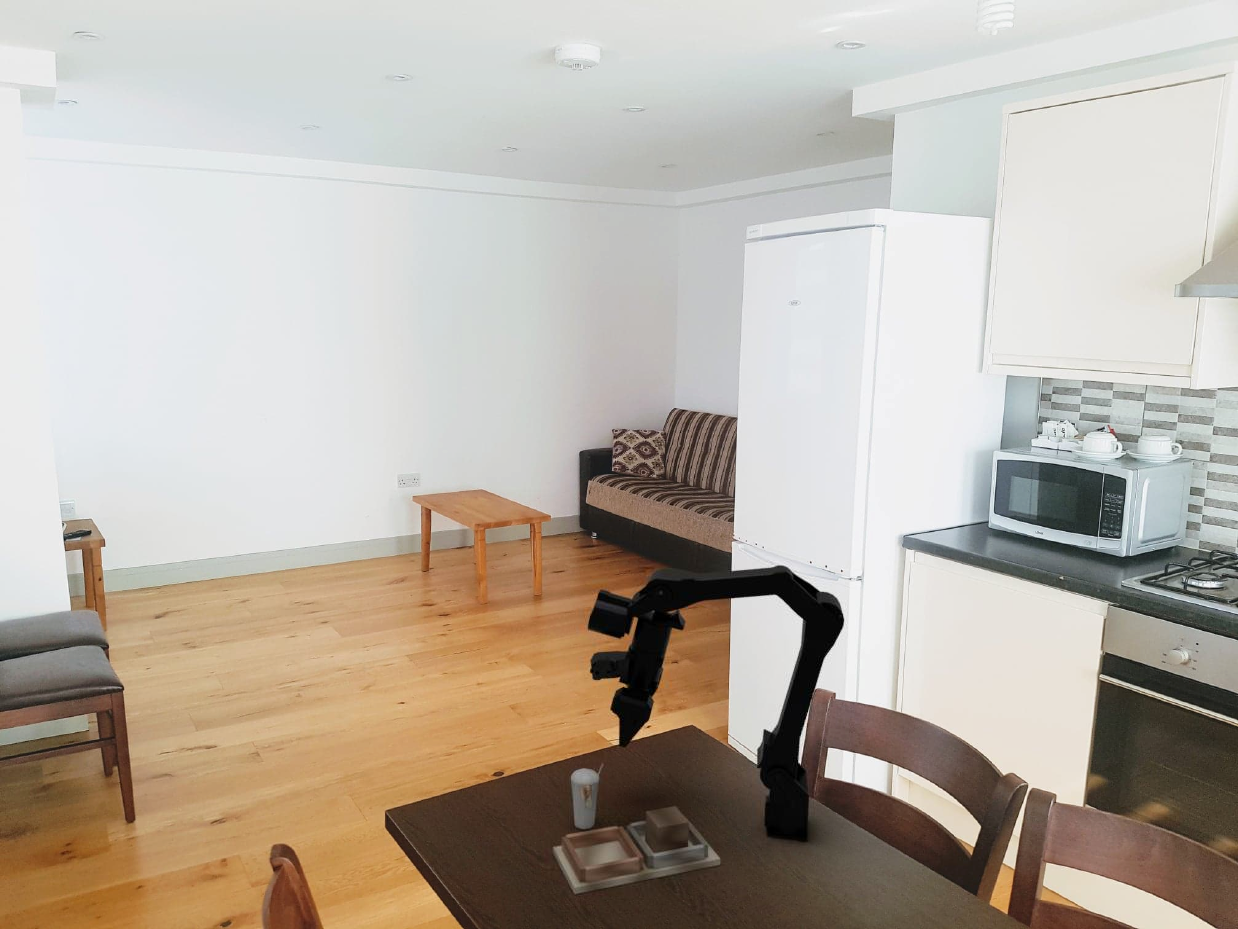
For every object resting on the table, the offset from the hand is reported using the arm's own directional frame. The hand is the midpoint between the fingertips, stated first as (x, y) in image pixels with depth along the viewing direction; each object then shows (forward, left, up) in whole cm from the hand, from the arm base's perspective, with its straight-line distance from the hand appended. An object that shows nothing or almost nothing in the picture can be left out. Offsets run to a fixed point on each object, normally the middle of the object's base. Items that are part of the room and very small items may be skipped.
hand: (626, 734), depth 152 cm
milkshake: (+5, +5, -14) cm, 16 cm away
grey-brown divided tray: (-4, +13, -14) cm, 19 cm away
